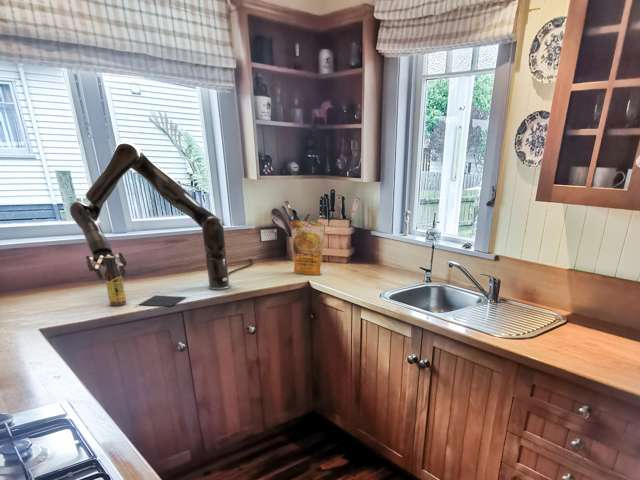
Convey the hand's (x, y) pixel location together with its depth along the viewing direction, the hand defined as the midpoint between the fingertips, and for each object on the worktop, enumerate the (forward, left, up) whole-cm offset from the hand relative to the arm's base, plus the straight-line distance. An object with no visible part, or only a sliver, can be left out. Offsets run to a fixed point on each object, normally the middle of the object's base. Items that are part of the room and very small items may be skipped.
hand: (112, 276), depth 193 cm
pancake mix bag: (-73, +67, -12) cm, 100 cm away
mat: (-7, +16, -12) cm, 21 cm away
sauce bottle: (0, 0, -12) cm, 12 cm away
